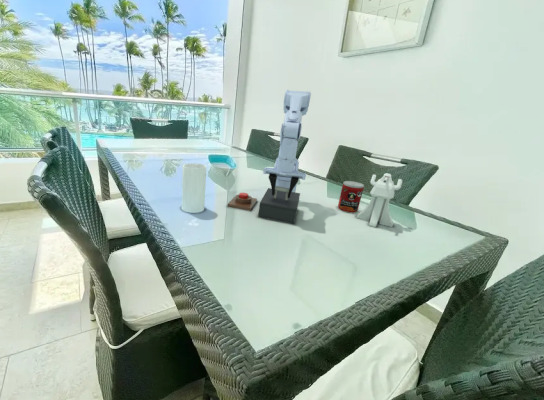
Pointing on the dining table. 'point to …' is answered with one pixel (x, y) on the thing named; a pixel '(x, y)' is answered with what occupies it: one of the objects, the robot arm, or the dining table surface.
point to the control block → (242, 203)
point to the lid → (281, 198)
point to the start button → (243, 195)
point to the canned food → (350, 196)
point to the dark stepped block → (277, 214)
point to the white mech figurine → (380, 201)
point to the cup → (193, 187)
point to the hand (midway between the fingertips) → (280, 195)
